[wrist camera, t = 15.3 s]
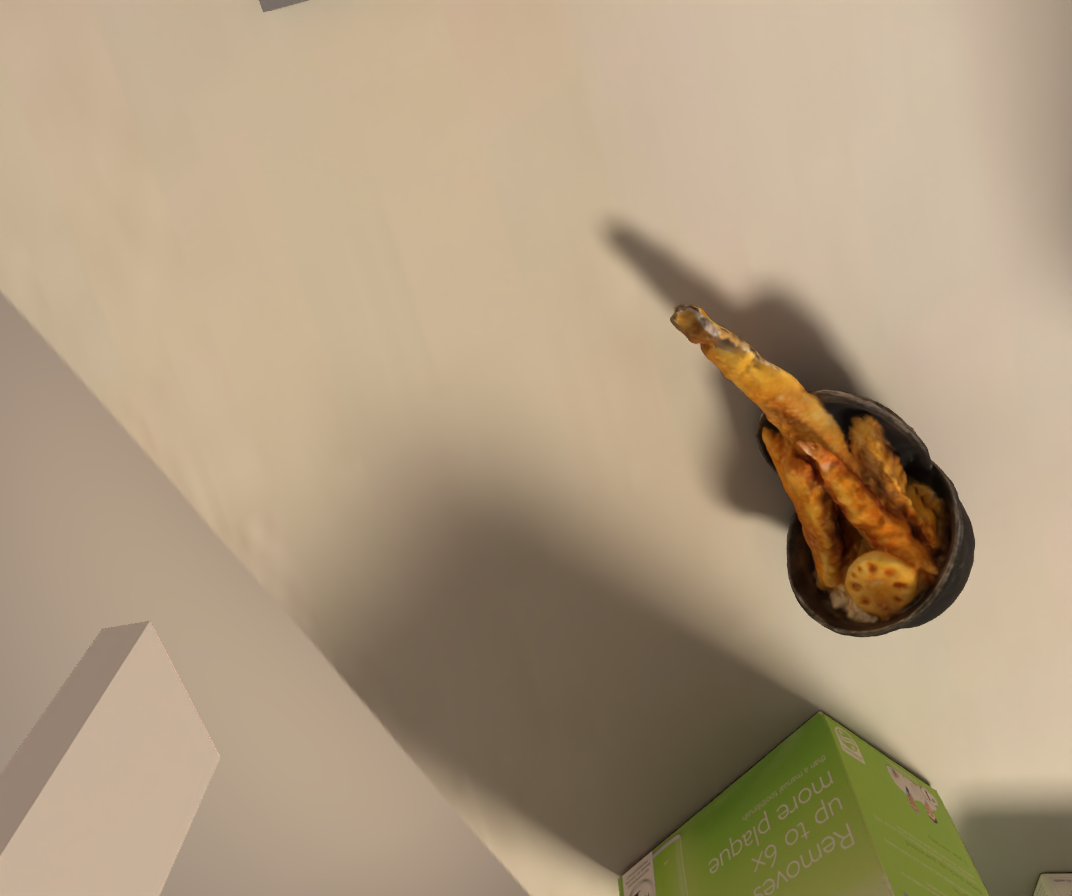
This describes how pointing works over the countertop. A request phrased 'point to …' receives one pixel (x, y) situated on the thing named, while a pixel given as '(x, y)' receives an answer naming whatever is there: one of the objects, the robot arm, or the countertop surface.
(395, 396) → the countertop surface
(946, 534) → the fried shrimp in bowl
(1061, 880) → the light bulb box
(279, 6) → the socket board
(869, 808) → the green cardboard box
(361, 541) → the countertop surface
